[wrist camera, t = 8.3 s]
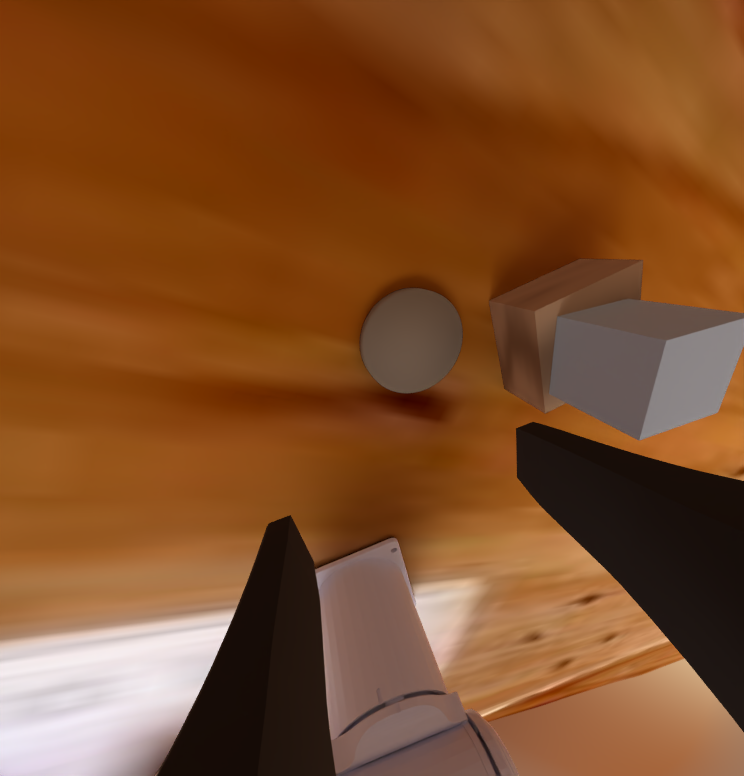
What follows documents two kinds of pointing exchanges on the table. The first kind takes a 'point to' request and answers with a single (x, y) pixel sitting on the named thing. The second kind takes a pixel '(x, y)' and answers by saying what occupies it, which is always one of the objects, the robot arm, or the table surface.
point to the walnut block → (553, 319)
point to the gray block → (645, 363)
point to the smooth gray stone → (411, 340)
